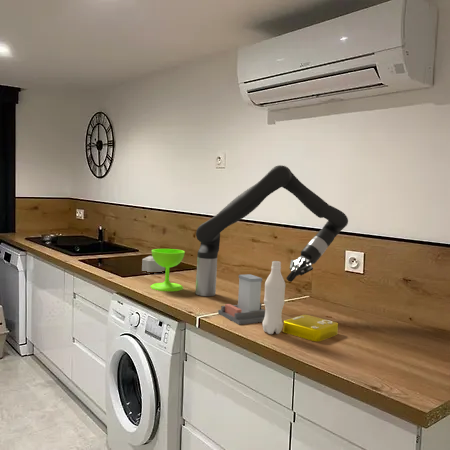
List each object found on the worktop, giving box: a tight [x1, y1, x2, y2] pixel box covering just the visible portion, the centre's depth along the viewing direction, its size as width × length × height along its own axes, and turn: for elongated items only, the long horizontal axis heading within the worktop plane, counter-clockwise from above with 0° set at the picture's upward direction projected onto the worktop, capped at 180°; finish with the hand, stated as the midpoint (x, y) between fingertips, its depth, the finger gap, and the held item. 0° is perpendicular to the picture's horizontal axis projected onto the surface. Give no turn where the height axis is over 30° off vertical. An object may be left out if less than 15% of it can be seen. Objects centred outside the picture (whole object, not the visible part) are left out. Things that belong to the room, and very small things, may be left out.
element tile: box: [282, 314, 339, 342], centre depth 169 cm, size 15×15×5 cm
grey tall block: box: [237, 273, 263, 312], centre depth 185 cm, size 8×5×14 cm, turn 29°
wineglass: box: [149, 248, 186, 292], centre depth 230 cm, size 16×16×18 cm
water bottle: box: [262, 260, 286, 335], centre depth 166 cm, size 7×7×25 cm
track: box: [217, 302, 265, 326], centre depth 185 cm, size 16×18×4 cm
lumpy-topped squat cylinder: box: [141, 255, 166, 273], centre depth 273 cm, size 10×13×9 cm
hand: (288, 280), depth 193 cm, fingers closed
